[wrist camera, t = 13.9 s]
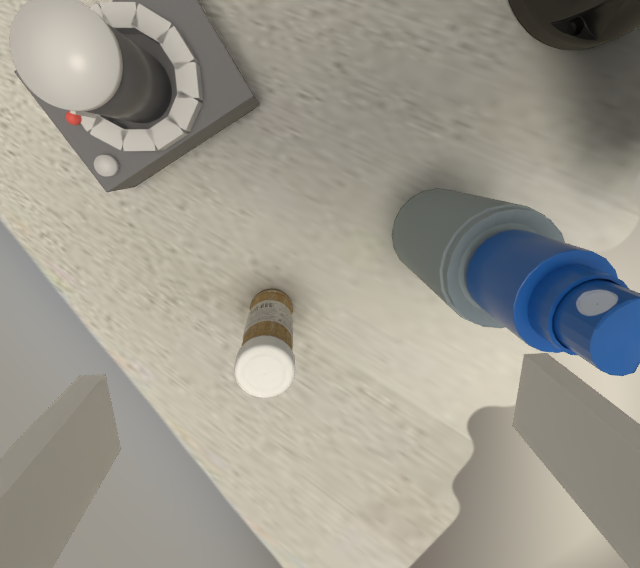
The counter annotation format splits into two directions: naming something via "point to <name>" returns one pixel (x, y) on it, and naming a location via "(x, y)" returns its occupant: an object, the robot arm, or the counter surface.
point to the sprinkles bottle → (267, 346)
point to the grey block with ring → (186, 100)
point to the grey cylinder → (86, 63)
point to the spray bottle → (520, 277)
